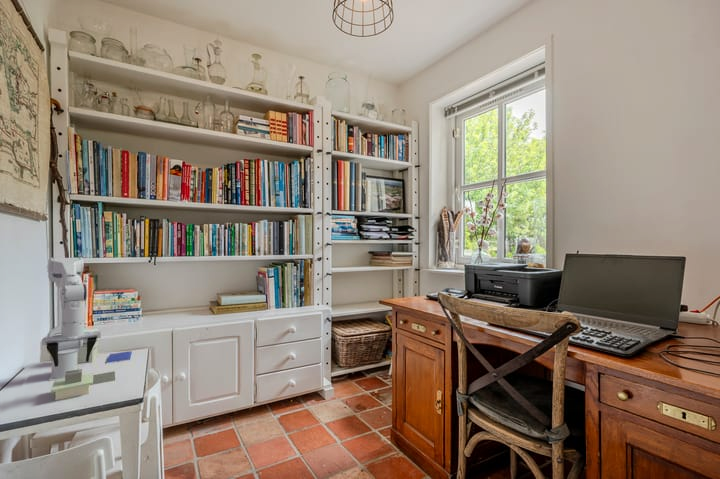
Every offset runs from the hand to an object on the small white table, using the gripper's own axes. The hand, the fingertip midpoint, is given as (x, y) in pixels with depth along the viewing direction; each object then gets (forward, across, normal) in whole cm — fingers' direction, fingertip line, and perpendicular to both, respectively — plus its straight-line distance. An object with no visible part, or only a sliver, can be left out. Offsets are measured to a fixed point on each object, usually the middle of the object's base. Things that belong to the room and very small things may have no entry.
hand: (72, 363), depth 109 cm
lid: (+6, 0, -1) cm, 6 cm away
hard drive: (+11, +14, +34) cm, 38 cm away
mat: (+10, +6, +9) cm, 15 cm away
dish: (+10, 0, -1) cm, 10 cm away
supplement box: (+10, +2, +39) cm, 41 cm away
